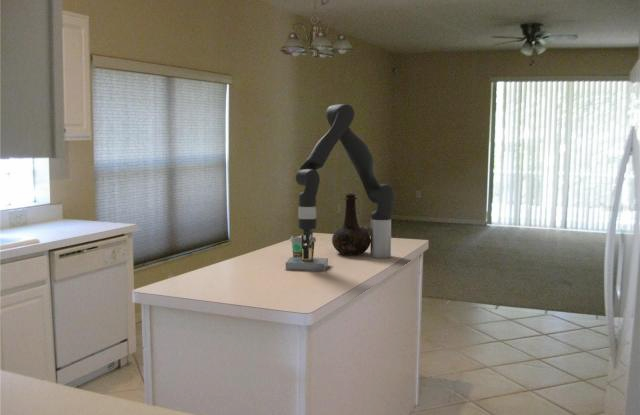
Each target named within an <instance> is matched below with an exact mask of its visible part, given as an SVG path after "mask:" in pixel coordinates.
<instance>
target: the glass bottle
mask: <svg viewBox="0 0 640 415" xmlns="http://www.w3.org/2000/svg"><path fill="white" fill-rule="evenodd" d="M343 199H344V200H345V207H344V208H345V209H344V210H345V211H344V220H343V224H342V226H341V227H340V228H338V229H337V230H335V231H334V233H333V234H332V238H331V243H332V245H333V248H334V250H336V251H337V252H338V253H339V254H342V255H345V256H357V255H358V256H359V255H361V254H363V253H365V252H366V251H367V250H368V249H370V248H369V247H371V234H370V233H369V231H368V230H367V229H366V228H364V227H362V226H361V227H360V225H359V223H358V219H357V210H356V200H358V198H357V197H356V194H355V193H348V194H347V193H346V194H345V197H344V198H343Z"/></svg>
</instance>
